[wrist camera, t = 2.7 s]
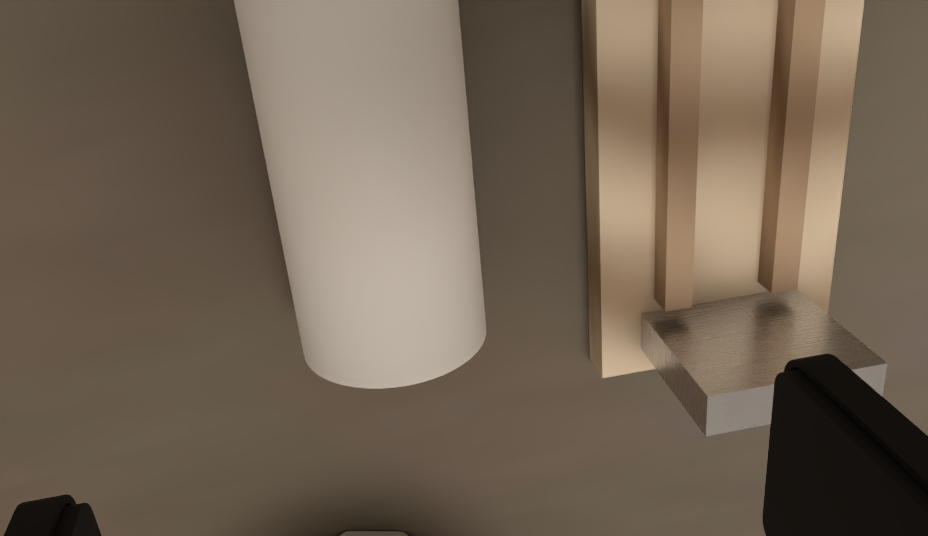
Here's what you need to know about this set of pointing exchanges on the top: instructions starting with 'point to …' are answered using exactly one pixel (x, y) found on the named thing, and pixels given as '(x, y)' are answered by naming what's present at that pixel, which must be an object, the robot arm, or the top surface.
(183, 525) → the top surface
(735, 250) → the roll cradle
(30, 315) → the top surface
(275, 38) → the paper roll
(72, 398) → the top surface
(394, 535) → the ceramic cup
